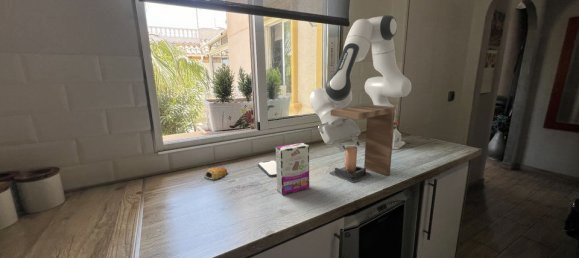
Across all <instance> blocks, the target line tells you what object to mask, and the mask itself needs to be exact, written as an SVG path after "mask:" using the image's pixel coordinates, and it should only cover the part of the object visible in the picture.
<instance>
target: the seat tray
mask: <svg viewBox="0 0 579 258" xmlns="http://www.w3.org/2000/svg"><path fill="white" fill-rule="evenodd" d="M329 175H331V176H333V177H336V178H339V179H342V180H344V181H347V182H349V183H352V184H355V183H357V182H358V181H361V180H363V179H365V178H367V177H370V176H372V173H370V172H367V169H365V168H364V167H362V166H357V165H356V172H354V173H350V172H347V171H345V166H343V167H341V168H338V167H334V170H333V171H330V172H329Z"/></svg>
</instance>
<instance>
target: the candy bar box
mask: <svg viewBox="0 0 579 258" xmlns="http://www.w3.org/2000/svg"><path fill="white" fill-rule="evenodd" d="M275 161H276V171H277V177H276V190H277V191H278V192H279V193H280V194H281V195H282V196H285V195H289V194H293V193H297V192H300V191H305V190H308V189H310V145H309V144H307V143H304V142H299V143H294V144H286V145H281V146H276V147H275Z"/></svg>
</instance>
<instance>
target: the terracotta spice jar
mask: <svg viewBox="0 0 579 258" xmlns="http://www.w3.org/2000/svg"><path fill="white" fill-rule="evenodd" d="M345 148H346V150H345V151H344V152H345V156H344V167H345V171H347V172H350V173H354V172H356V166H357V155H358V147H355V145H347V146H345Z"/></svg>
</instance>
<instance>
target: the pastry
mask: <svg viewBox="0 0 579 258" xmlns="http://www.w3.org/2000/svg"><path fill="white" fill-rule="evenodd" d="M227 174H228V169H227V168H225V167H222V166H221V167H219V166H218V167H211V168H208V169H207V170H205V172H204V174H203V176H204V179H208V180H215V181H216V180H219V178H220V179H221V178H223V177H225V176H226V175H227Z"/></svg>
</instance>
